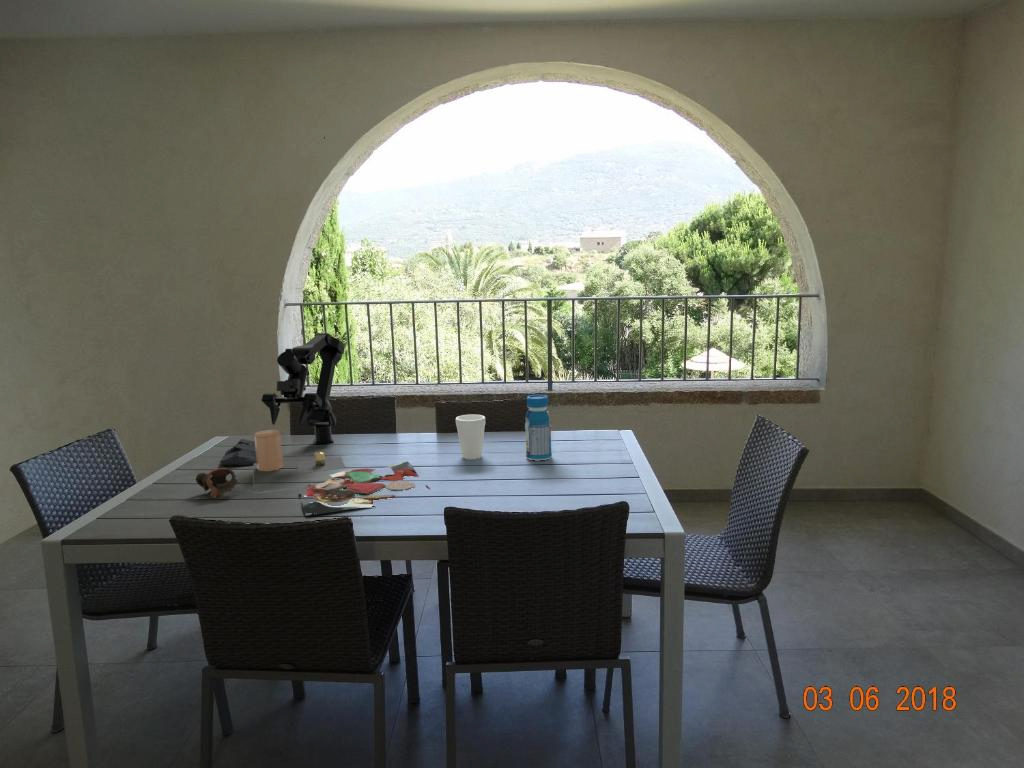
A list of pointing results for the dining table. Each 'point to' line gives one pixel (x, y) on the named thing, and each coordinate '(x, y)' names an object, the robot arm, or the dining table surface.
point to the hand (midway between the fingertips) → (286, 424)
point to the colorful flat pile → (357, 488)
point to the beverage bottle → (538, 428)
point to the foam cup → (471, 435)
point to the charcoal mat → (311, 466)
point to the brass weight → (319, 458)
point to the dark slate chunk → (240, 454)
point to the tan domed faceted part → (268, 450)
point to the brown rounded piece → (217, 481)
